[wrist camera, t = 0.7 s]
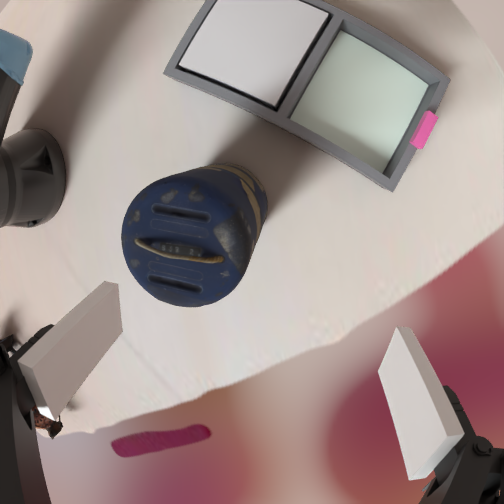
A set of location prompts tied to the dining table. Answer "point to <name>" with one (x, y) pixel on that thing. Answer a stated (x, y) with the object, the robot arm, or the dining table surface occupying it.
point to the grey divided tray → (315, 79)
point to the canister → (194, 233)
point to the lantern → (39, 419)
